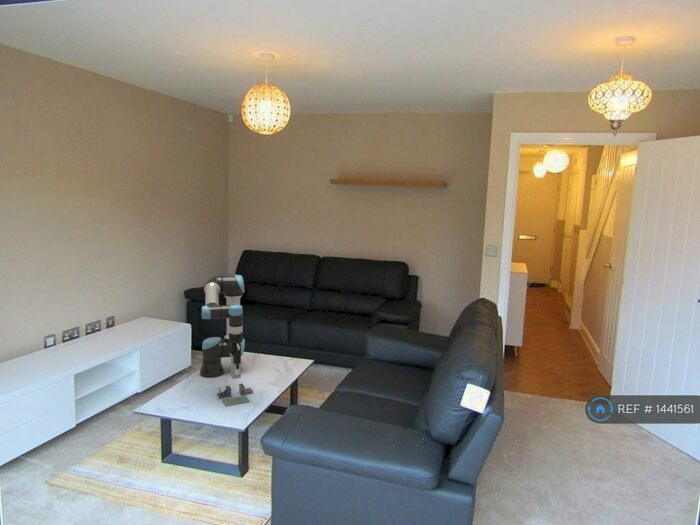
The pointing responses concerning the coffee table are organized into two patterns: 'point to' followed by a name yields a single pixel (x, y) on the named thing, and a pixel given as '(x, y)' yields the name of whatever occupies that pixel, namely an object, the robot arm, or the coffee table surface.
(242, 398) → the mat
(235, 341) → the robot arm
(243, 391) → the silver metal blocks
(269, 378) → the coffee table surface
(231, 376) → the bar
